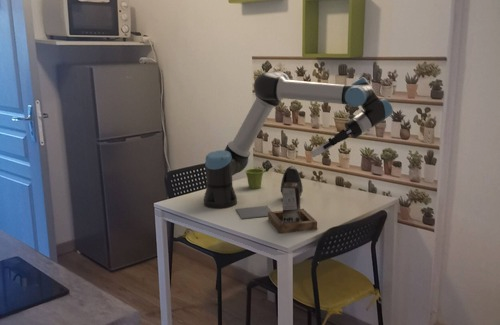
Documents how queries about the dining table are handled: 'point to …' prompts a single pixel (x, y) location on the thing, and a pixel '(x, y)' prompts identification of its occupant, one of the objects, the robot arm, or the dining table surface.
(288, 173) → the dark rounded canister
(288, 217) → the coffee box
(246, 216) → the grey rubber mat
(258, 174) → the plant pot
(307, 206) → the dining table surface
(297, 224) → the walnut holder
